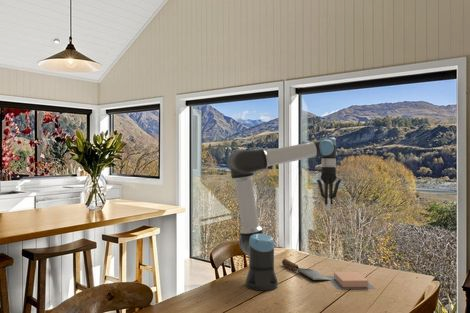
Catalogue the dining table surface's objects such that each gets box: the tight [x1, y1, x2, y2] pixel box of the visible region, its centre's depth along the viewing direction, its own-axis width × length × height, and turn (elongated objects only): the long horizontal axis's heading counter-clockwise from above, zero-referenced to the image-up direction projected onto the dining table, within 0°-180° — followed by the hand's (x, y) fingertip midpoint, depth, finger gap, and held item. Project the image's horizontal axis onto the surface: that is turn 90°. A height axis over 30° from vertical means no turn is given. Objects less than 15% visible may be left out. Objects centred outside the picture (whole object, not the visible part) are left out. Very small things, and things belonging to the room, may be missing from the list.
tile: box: [333, 271, 369, 288], centre depth 187 cm, size 12×3×14 cm
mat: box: [325, 275, 376, 290], centre depth 189 cm, size 18×20×1 cm
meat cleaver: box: [281, 258, 332, 281], centre depth 205 cm, size 34×11×4 cm, turn 20°
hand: (328, 210), depth 208 cm, fingers closed
